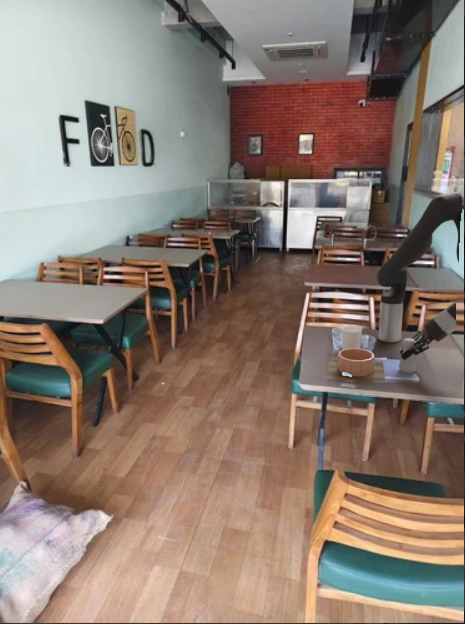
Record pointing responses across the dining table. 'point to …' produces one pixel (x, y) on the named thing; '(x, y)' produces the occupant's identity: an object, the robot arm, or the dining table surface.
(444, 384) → the dining table surface
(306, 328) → the dining table surface
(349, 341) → the white cup
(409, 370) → the salt shaker
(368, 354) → the wooden bowl
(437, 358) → the dining table surface
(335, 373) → the walnut board
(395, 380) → the dining table surface
